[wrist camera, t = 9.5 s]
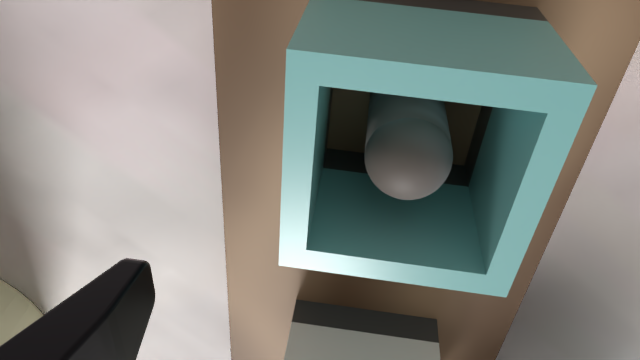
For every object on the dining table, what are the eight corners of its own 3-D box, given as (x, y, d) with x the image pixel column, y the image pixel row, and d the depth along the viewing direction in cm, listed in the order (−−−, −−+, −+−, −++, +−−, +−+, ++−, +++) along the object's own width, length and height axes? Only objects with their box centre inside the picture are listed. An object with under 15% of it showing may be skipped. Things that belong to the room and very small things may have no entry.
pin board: (651, -52, 14) (793, 18, 9) (463, 396, 27) (478, 527, 22) (222, -93, 15) (133, -50, 10) (240, 363, 27) (206, 482, 22)
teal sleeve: (480, 185, 17) (506, 297, 13) (305, 162, 17) (278, 265, 13) (537, 7, 14) (597, 85, 10) (317, -17, 14) (285, 48, 10)
